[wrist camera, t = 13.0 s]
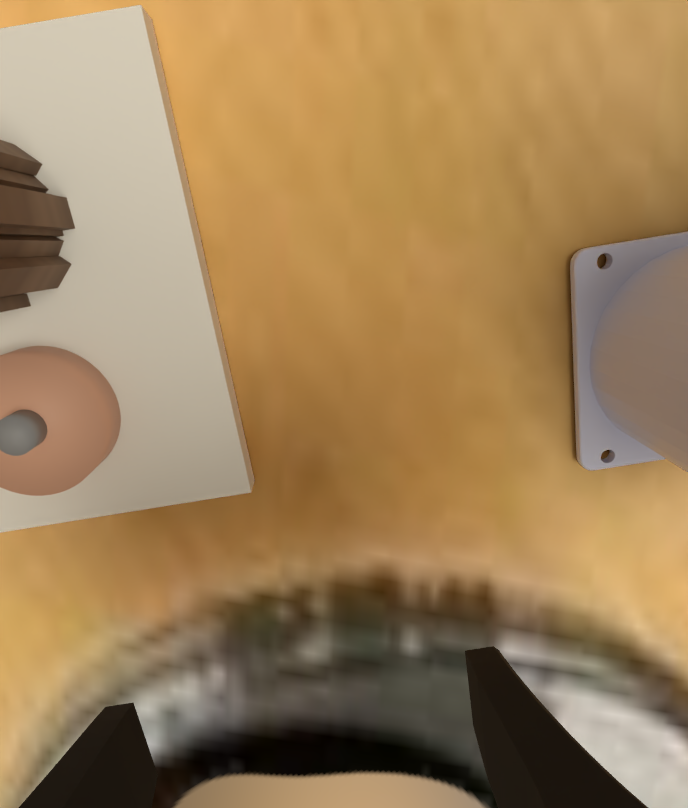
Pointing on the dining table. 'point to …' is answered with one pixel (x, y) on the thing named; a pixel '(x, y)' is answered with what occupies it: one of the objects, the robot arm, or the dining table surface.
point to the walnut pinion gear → (28, 230)
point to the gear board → (110, 291)
